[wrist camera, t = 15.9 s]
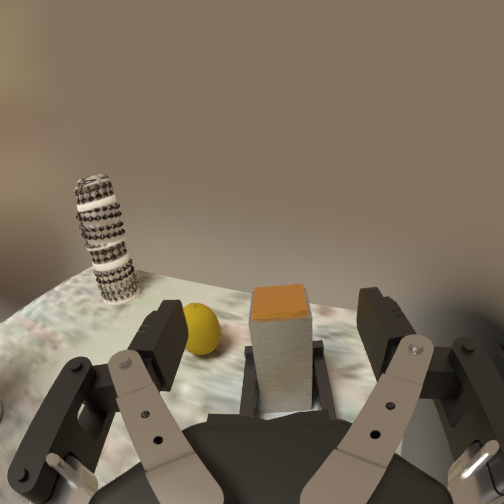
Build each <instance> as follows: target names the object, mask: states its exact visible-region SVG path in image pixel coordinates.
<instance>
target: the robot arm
mask: <svg viewBox="0 0 504 504" xmlns="http://www.w3.org/2000/svg"><path fill="white" fill-rule="evenodd" d="M357 329H358V332H359V335H360V337H361V340H362V342H363V345H364V348H365V350H366V353H367V356H368V358H369V361H370V364H371V367H372V369H373V372H374V375H375V378H376V381H377V384H376V386H375V387H374V389H373V391H372V393H371V395H370V396H369V398H368V400H367V401H366V403H365V405H364V407H363V408H362V410H361V411H360V413H359V415H358V416H357V418H356V420H355V421H354V423H350V422H348V421H345V420H342V419H337V418H330V417H329V413H328V409H327V410H318V411H308V412H298V413H294V414H290V415H287V416H283V417H279V418H275V419H271V420H263V419H257V418H252V417H247V416H242V415H237V414H208V418H207V422H203V423H199V424H196V425H193V426H190V427H188V428H186V429H184V430H182V431H181V430H180V428H179V426H178V425H177V423H176V421H175V420H174V418H173V416H172V415H171V413H170V411H169V409H168V408H167V406H166V404H165V402H164V401H163V399H162V397H161V395H160V391H168V392H170V390H171V387H172V384H173V381H174V378H175V375H176V373H177V370H178V367H179V364H180V361H181V358H182V355H183V352H184V349H185V347H186V344H187V341H188V326H187V322H186V318H185V314H184V311H183V307H182V303H181V301H180V300H163V301H162V303H161V305H160V307H159V308H158V310H157V311H153V312H151V313H150V314H149V315H148V316H147V317H146V318H145V319H144V321H143V323H142V326H140V328H139V330H138V332H137V333H136V335H135V337H134V338H133V340H132V342H131V344H130V345H129V347H128V349H127V350H123V351H120V352H118V353H116V354H114V355H113V356H112V357H111V358H110V360H109V362H108V364H102V365H95V366H93V365H92V363H91V362H90V360H89V359H88V358H86V357H76V358H73V359H71V360H70V361H68V362H67V363H66V364H65V366H64V367H63V369H62V370H61V372H60V374H59V375H58V377H57V379H56V380H55V382H54V384H53V385H52V387H51V389H50V390H49V392H48V394H47V396H46V397H45V399H44V401H43V402H42V404H41V406H40V408H39V410H38V411H37V413H36V415H35V417H34V419H33V421H32V422H31V424H30V426H29V428H28V430H27V432H26V434H25V436H24V438H23V440H22V442H21V444H20V446H19V448H18V450H17V452H16V454H15V456H14V459H13V461H12V463H11V465H10V467H9V470H8V475H7V477H8V482H9V484H10V486H11V487H12V488H13V489H14V490H15V491H16V492H18V493H19V494H21V495H22V496H23V497H25V498H26V499H27V500H28V501H29V502H31V503H32V504H500V503H502V502H503V501H504V382H503V380H502V378H501V376H500V375H499V373H498V371H497V370H496V368H495V366H494V365H493V363H492V362H491V360H490V359H489V357H488V355H487V354H486V352H485V351H484V349H483V348H482V346H481V345H480V343H479V342H477V341H476V340H475V339H472V338H470V337H460V338H457V339H456V340H455V341H454V342H453V344H452V347H451V348H449V347H434V346H433V344H432V342H431V341H430V340H429V339H428V338H426V337H424V336H421V335H417V334H416V332H415V331H414V329H413V328H412V326H411V325H410V323H409V321H408V320H407V318H406V316H405V315H404V313H403V312H402V311H401V309H400V307H399V306H398V304H397V302H395V301H394V300H393V299H391V298H389V297H383V296H382V294H381V293H380V291H379V289H378V288H377V287H371V288H361V289H360V292H359V301H358V310H357ZM418 398H421V399H433V400H434V403H435V406H436V408H437V411H438V414H439V417H440V419H441V422H442V425H443V428H444V431H445V434H446V437H447V440H448V443H449V446H450V449H451V453H452V456H453V459H454V463H453V465H452V466H451V468H450V470H449V473H448V487H447V488H446V487H445V486H444V485H443V484H442V483H440V482H439V481H437V480H436V479H434V478H432V477H431V476H429V475H428V474H426V473H425V472H423V471H421V470H420V469H418V468H417V467H415V466H414V465H412V464H411V463H409V462H408V461H406V460H405V459H403V458H402V457H401V456H399V455H398V454H396V453H395V451H396V449H397V447H398V445H399V443H400V441H401V438H402V436H403V434H404V432H405V430H406V427H407V425H408V423H409V420H410V418H411V416H412V413H413V411H414V408H415V406H416V403H417V400H418ZM82 403H83V404H84V405H85V406H84V408H83V410H82V412H81V414H80V417H79V419H78V418H77V415H78V411H79V409H80V407H81V405H82ZM116 412H121V415H122V418H123V420H124V423H125V425H126V428H127V430H128V433H129V435H130V438H131V440H132V442H133V445H134V447H135V449H136V452H137V454H138V456H139V458H140V460H141V461H140V462H139V463H138V464H136V465H135V466H133V467H132V468H131V469H129V470H128V471H126V472H125V473H123V474H122V475H120V476H119V477H117V478H116V479H114V480H113V481H111V482H110V483H108V484H107V485H105V486H104V487H102V488H101V489H99V490H98V489H97V488H98V482H97V479H96V477H95V475H94V473H95V469H96V466H97V463H98V460H99V457H100V454H101V452H102V449H103V446H104V443H105V440H106V437H107V434H108V432H109V429H110V426H111V423H112V421H113V418H114V415H115V413H116ZM1 414H2V404H1V402H0V418H1Z"/></svg>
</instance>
